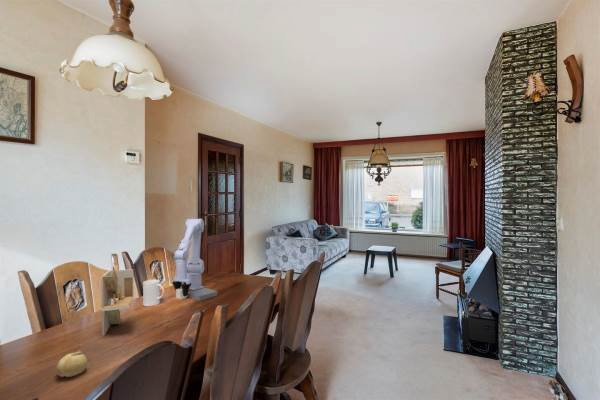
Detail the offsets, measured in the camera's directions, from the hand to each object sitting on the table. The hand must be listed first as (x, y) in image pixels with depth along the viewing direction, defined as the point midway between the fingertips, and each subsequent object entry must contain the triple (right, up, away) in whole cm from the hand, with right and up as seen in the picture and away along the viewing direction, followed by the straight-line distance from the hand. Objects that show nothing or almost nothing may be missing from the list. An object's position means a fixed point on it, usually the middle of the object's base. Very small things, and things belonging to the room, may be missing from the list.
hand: (181, 294), depth 176 cm
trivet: (+11, -2, +3) cm, 12 cm away
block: (0, -2, 0) cm, 2 cm away
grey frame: (-11, -2, -43) cm, 44 cm away
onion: (-5, -2, -77) cm, 78 cm away
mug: (-11, -2, -10) cm, 15 cm away
